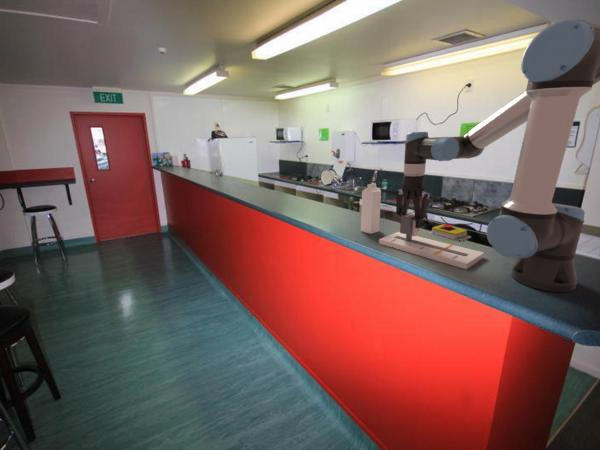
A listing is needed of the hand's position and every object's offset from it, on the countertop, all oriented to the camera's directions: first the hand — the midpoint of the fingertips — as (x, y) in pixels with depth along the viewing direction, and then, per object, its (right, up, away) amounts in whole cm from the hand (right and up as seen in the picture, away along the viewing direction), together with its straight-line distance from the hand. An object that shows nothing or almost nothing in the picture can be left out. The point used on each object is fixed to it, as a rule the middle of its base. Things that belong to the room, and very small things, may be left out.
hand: (409, 234), depth 119 cm
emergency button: (+22, -1, +12) cm, 25 cm away
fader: (0, -2, +1) cm, 2 cm away
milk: (-11, +1, +20) cm, 23 cm away
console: (+5, -6, -5) cm, 9 cm away
